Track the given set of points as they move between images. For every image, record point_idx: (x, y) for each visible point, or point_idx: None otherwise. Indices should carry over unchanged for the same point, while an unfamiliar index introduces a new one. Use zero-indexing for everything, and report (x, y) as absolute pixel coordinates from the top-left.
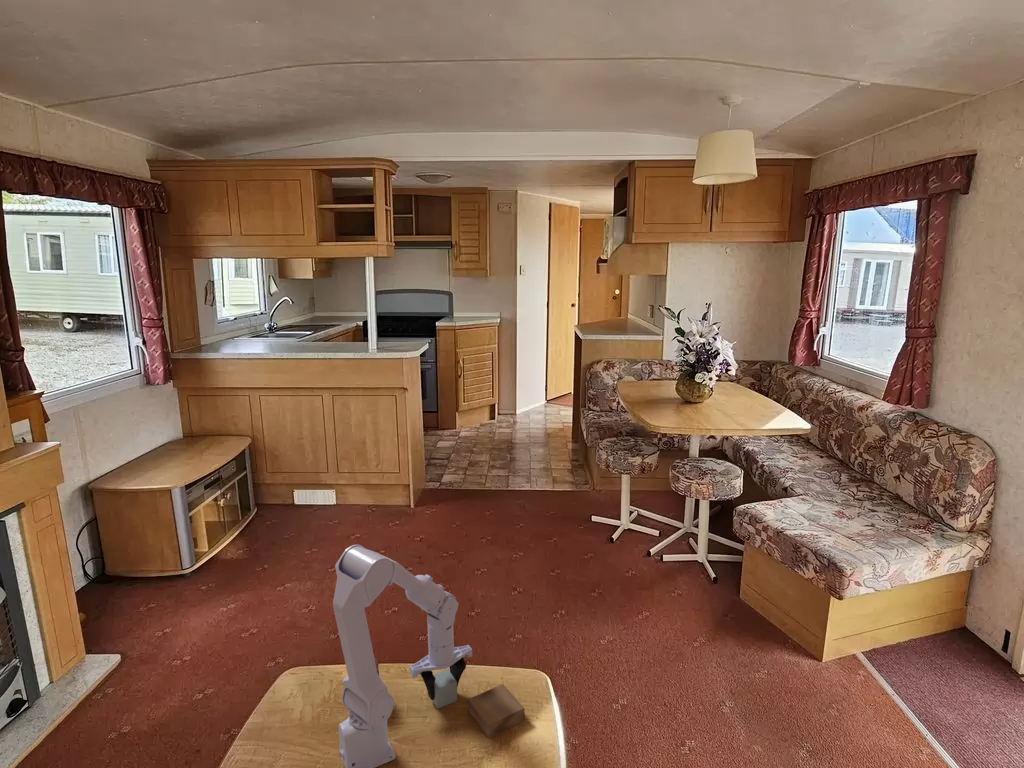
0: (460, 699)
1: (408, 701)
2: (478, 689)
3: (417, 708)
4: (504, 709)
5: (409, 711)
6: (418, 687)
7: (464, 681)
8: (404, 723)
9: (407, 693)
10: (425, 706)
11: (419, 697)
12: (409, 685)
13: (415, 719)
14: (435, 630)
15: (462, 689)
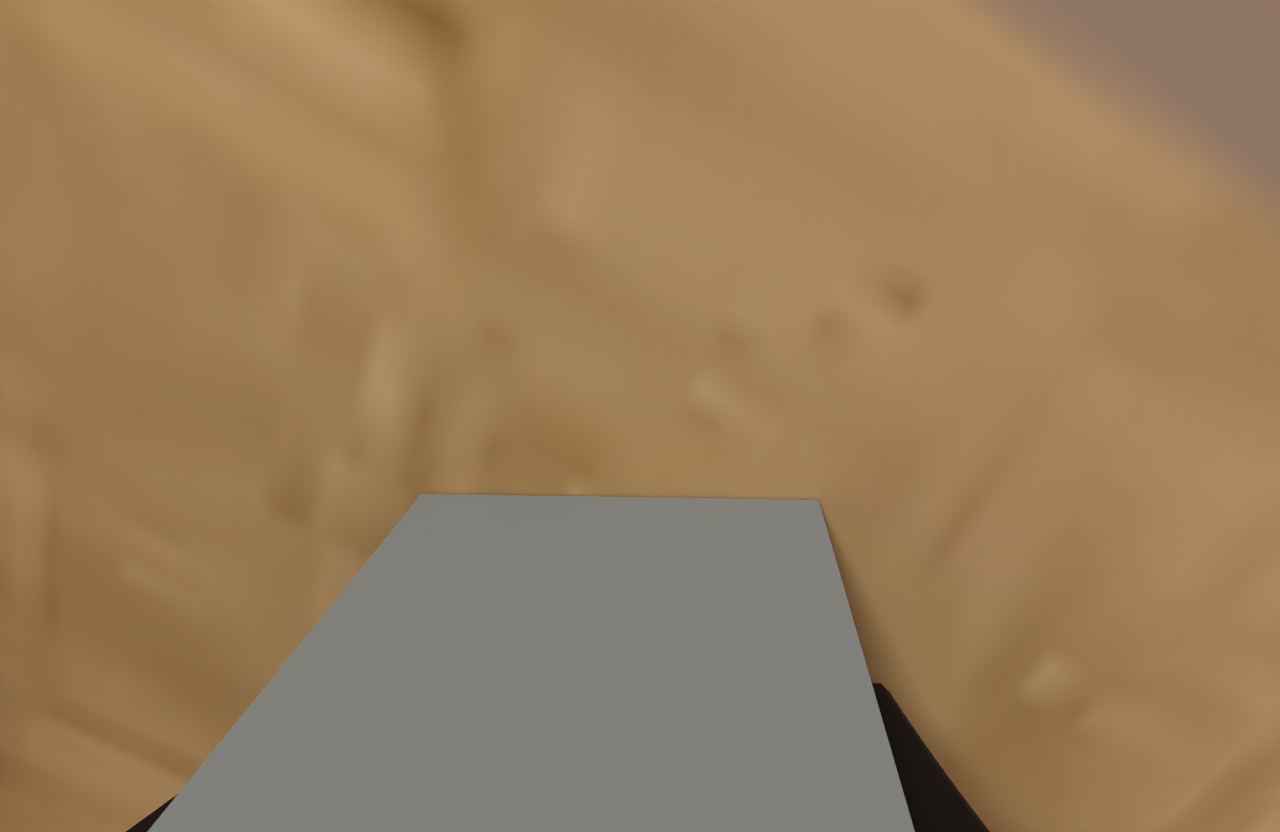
0: None
1: (71, 451)
2: (1243, 784)
3: (197, 647)
4: None
5: (76, 639)
6: (286, 202)
7: (1180, 509)
8: (3, 775)
9: (61, 256)
10: None
11: (261, 460)
12: (112, 38)
13: (147, 790)
14: None
15: (1012, 658)
